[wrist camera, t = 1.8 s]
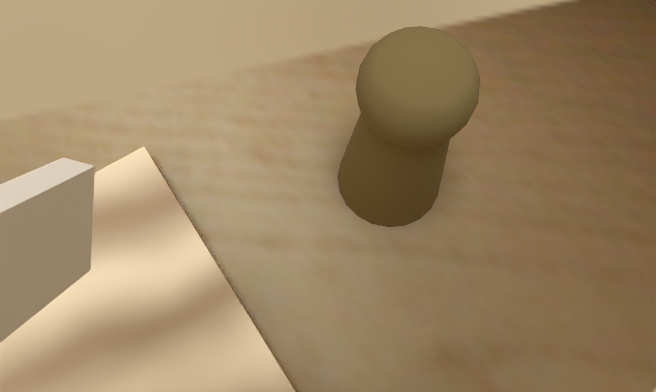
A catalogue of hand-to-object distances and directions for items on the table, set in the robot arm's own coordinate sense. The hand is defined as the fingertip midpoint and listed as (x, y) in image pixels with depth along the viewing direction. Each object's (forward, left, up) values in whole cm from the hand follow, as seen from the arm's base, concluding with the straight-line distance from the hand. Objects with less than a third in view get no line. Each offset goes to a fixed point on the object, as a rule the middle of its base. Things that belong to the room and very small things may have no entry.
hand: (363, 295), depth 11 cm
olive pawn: (+7, -9, -16) cm, 20 cm away
